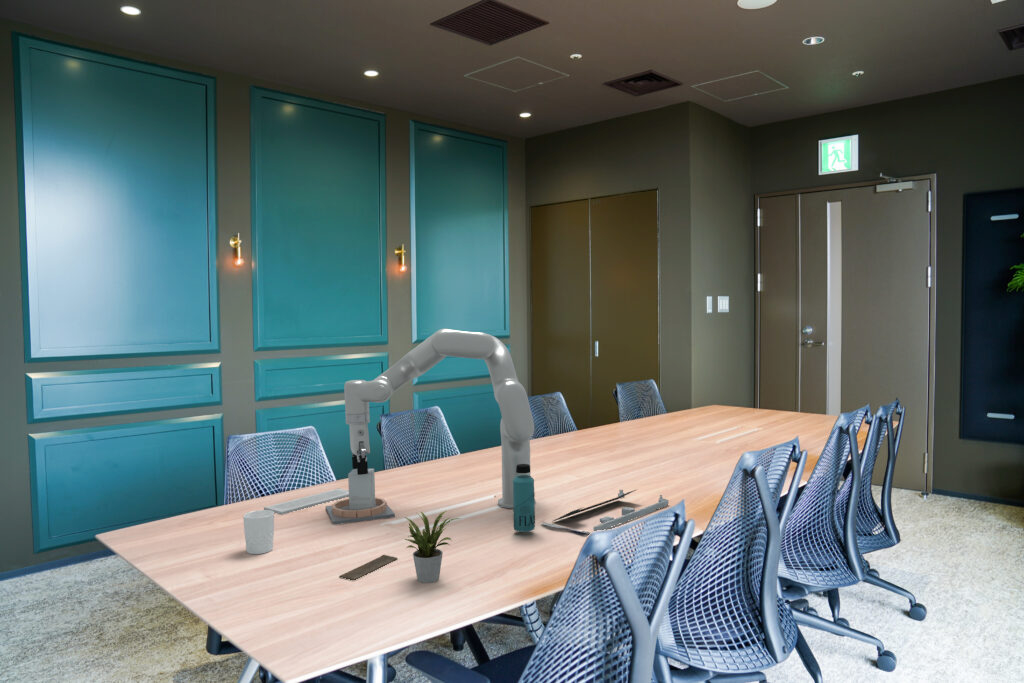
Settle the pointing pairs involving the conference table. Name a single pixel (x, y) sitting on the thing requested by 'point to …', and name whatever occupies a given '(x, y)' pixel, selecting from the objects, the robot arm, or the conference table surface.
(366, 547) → the conference table surface
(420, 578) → the house plant
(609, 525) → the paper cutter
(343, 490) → the plaque
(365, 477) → the supplement box
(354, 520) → the ring holder
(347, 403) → the robot arm
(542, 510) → the conference table surface
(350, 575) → the wooden plank
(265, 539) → the white cup
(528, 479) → the beverage bottle
